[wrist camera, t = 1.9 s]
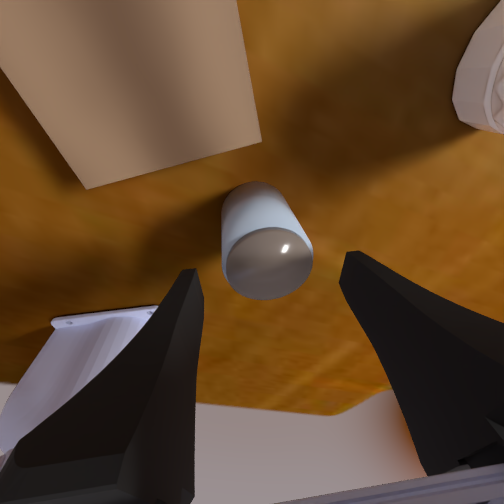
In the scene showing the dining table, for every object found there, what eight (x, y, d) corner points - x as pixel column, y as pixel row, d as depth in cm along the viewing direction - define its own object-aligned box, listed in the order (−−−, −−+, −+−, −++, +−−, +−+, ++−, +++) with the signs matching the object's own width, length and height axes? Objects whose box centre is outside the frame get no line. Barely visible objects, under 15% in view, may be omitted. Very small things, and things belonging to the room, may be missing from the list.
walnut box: (110, 171, 14) (86, 189, 11) (-37, -71, 8) (-144, -138, 6) (254, 132, 13) (261, 141, 11) (198, -149, 8) (189, -254, 5)
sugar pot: (225, 244, 18) (227, 307, 13) (216, 184, 15) (215, 234, 10) (285, 238, 18) (311, 296, 13) (288, 178, 15) (322, 223, 10)
